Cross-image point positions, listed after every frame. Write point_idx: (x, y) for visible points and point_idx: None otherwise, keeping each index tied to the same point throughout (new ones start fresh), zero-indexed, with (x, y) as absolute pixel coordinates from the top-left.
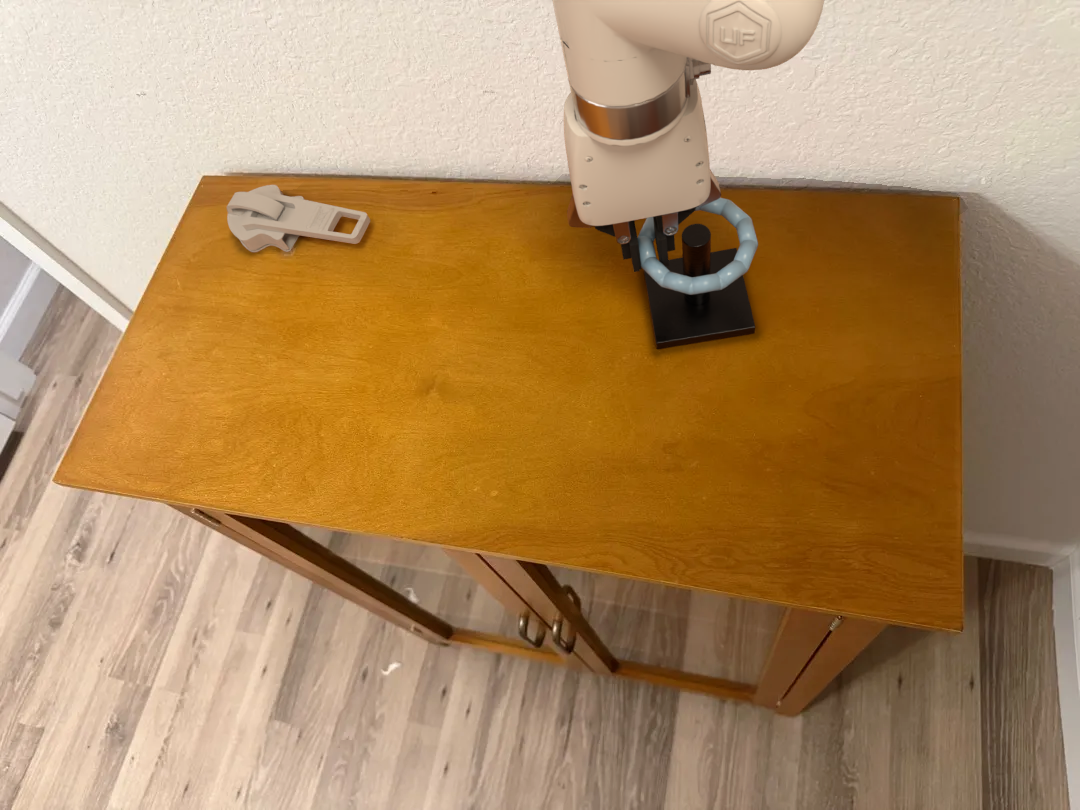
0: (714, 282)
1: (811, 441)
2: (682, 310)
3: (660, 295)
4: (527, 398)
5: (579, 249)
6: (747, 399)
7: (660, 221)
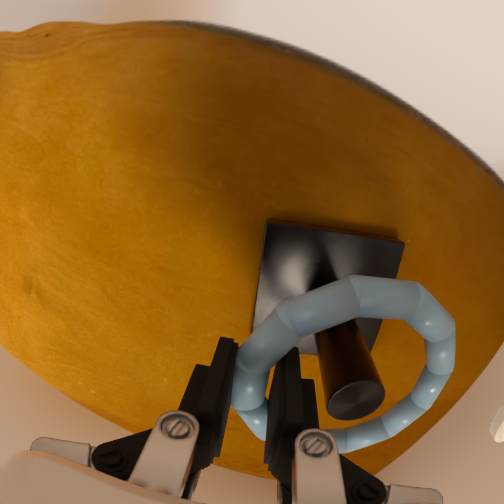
0: None
1: None
2: None
3: (276, 285)
4: (106, 336)
5: (179, 145)
6: (321, 402)
7: (280, 475)
